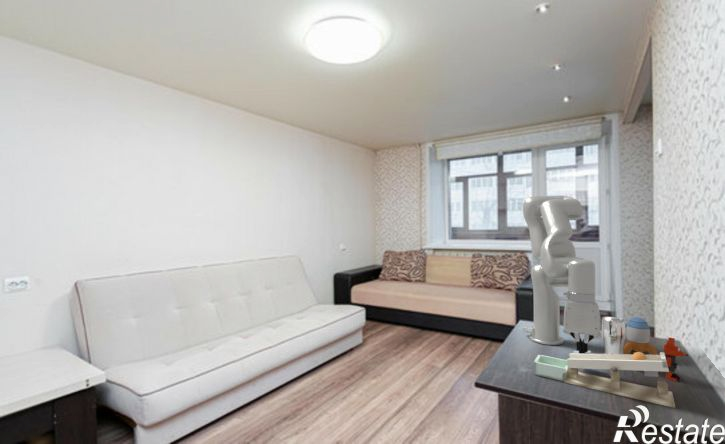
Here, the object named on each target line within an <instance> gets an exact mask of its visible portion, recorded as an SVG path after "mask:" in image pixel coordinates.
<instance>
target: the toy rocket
mask: <svg viewBox="0 0 725 444" xmlns="http://www.w3.org/2000/svg"><path fill="white" fill-rule="evenodd" d="M626 340H627V343H625V345H624V350H623V354H631V352H632V353H633V354H634V353H635V352H641V353H643V354H644V353H645V352H646V353H647V352H648V355H659V353H658V352H659V351H658V350H657V349H656V348H655V347H654V346H653V345H651V344H650V340H651V330H650V325H649V324H648V321H646V320H645V319H644V318H642V317H639V316H633V317H631V318H629V320H627V323H626ZM632 350H633V351H632Z"/></svg>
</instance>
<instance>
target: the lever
mask: <svg viewBox="0 0 725 444" xmlns="http://www.w3.org/2000/svg"><path fill="white" fill-rule="evenodd" d="M633 354H634V353H633ZM633 354H631V353H629V354H604V353H592V350H588V352H585V354H579V351H577V350H573V351H572V353H571V352H570V353H569V354H568V355H569V358H567V359H566V360H567V361H568V366H569V368H578V369H584V370H585V369H588V370H589V369H590V370H591V369H593V370H611V367H616V368H619V370H620V371H636V372H637V371H640V372H641V371H642V372H644V377H655V378H657V377H660V375H659V372H666V373H667V372H669V369H668V365H667V361H666V357H665V353H664V351H660V352H659V354H658V355H650V354H645V356H646V358H647V360H633Z"/></svg>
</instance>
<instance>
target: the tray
mask: <svg viewBox="0 0 725 444" xmlns="http://www.w3.org/2000/svg"><path fill="white" fill-rule="evenodd" d="M568 371H569V366H568V361H567V359H564V358H563V359H562V358H559V357H553V356H548V355H544V354H537V356H536V358H535V359H534V360H533V375H534V376H539V377H542V378H546V379H547V378H548V379H551V380H556V381H561V382H563V379H566V377H567V374H568Z"/></svg>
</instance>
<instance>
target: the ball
mask: <svg viewBox="0 0 725 444" xmlns="http://www.w3.org/2000/svg"><path fill="white" fill-rule="evenodd" d="M645 355H646V354H645V353H644V352H643V353H641V352H635V353H633V360H647V358H646V356H645Z"/></svg>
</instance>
